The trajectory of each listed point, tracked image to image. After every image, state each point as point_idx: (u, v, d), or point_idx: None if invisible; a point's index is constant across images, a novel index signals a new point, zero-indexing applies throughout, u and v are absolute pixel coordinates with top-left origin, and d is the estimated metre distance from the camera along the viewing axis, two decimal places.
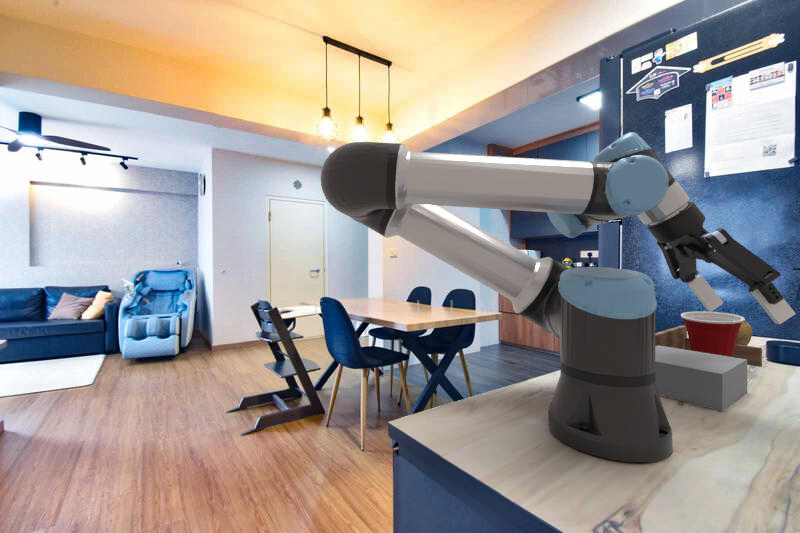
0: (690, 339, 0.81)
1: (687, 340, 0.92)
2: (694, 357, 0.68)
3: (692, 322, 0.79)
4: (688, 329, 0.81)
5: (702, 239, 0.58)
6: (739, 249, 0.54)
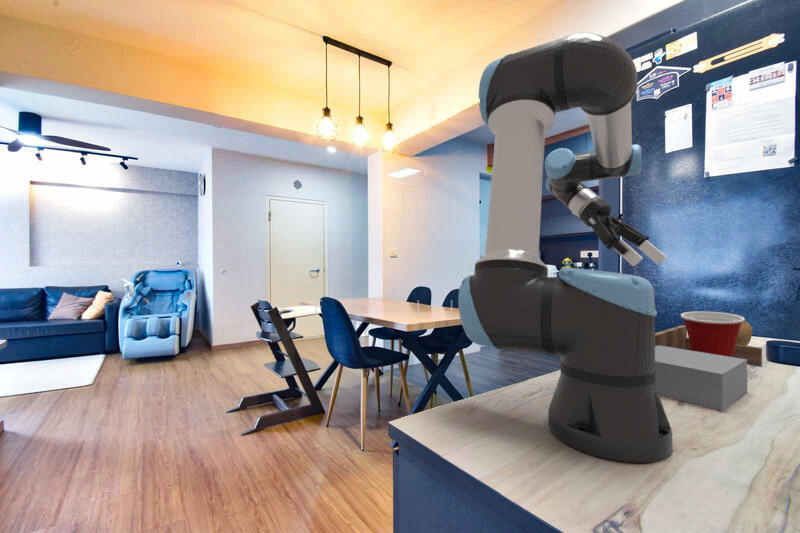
0: (690, 339, 0.81)
1: (687, 340, 0.92)
2: (694, 357, 0.68)
3: (692, 322, 0.79)
4: (688, 329, 0.81)
5: None
6: None
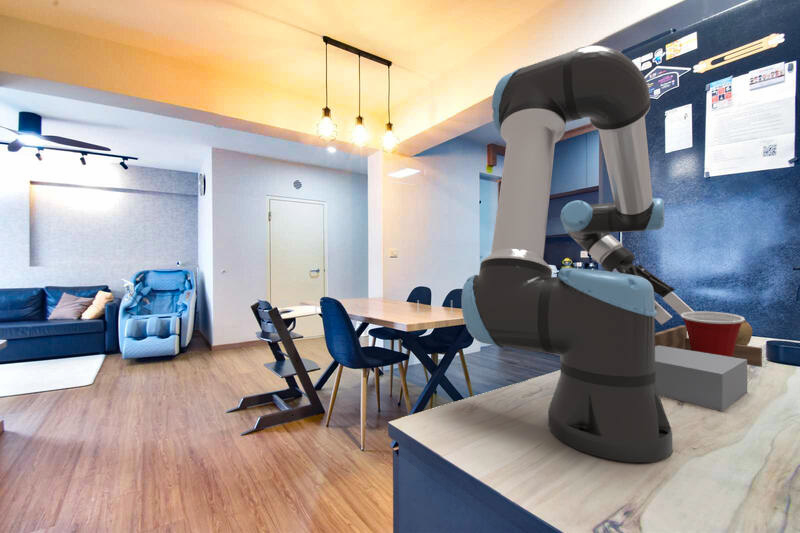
0: (690, 339, 0.81)
1: (687, 340, 0.92)
2: (694, 357, 0.68)
3: (692, 322, 0.79)
4: (688, 329, 0.81)
5: None
6: None
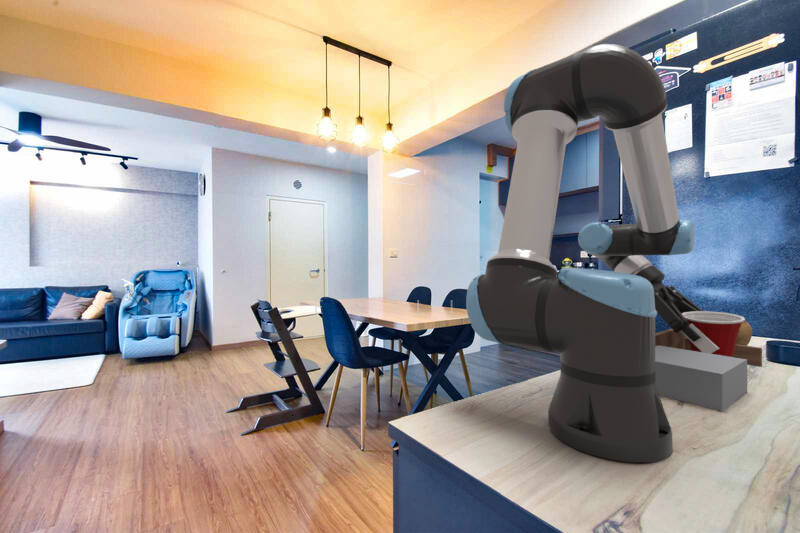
0: None
1: (687, 340, 0.92)
2: (694, 357, 0.68)
3: (692, 322, 0.79)
4: None
5: None
6: None
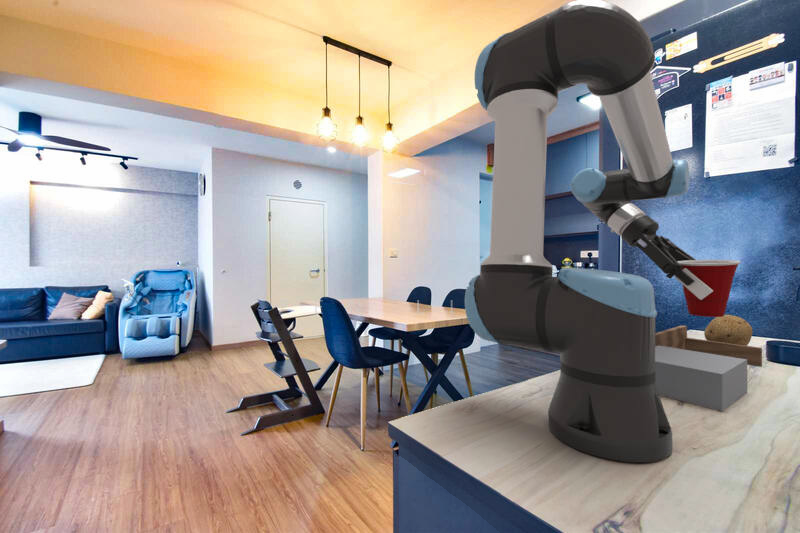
0: (684, 286, 0.79)
1: (687, 340, 0.92)
2: (694, 357, 0.68)
3: (686, 267, 0.77)
4: None
5: None
6: None
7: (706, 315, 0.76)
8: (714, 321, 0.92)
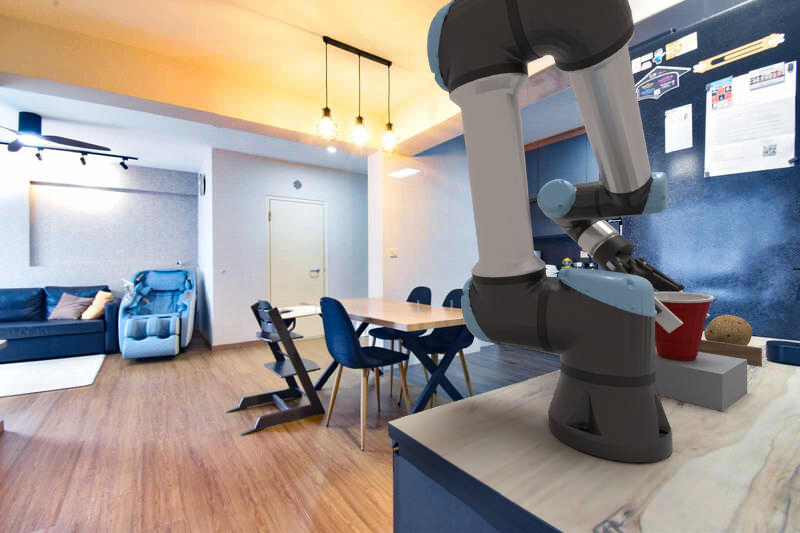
0: None
1: None
2: None
3: None
4: None
5: None
6: None
7: (676, 358, 0.66)
8: (714, 321, 0.92)
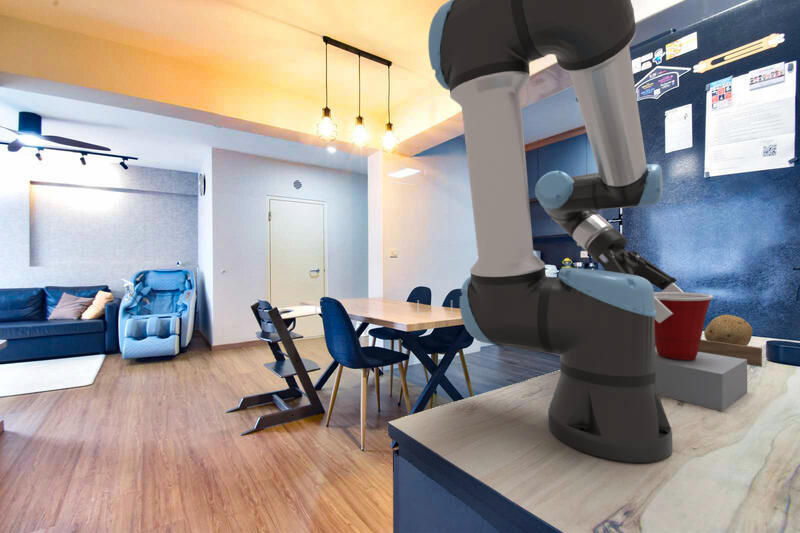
0: None
1: None
2: None
3: None
4: None
5: None
6: None
7: (676, 357, 0.66)
8: (714, 321, 0.92)
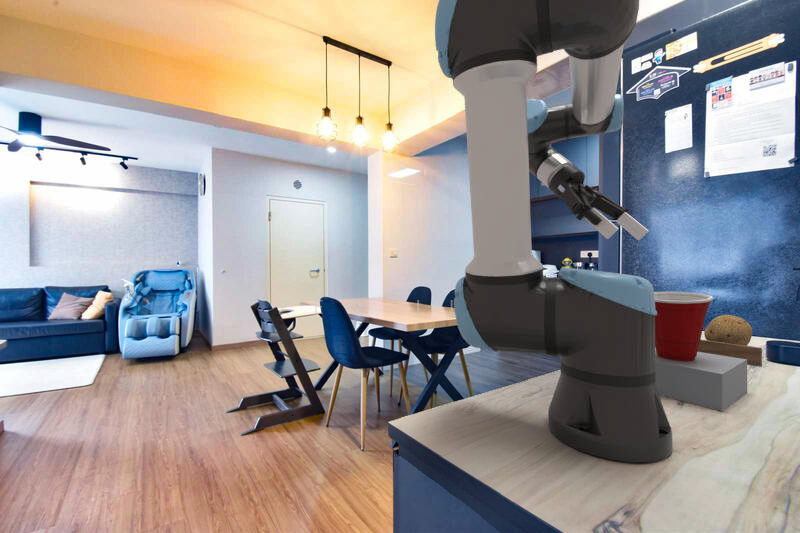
0: None
1: None
2: None
3: None
4: None
5: None
6: None
7: (675, 359, 0.66)
8: (714, 321, 0.92)
